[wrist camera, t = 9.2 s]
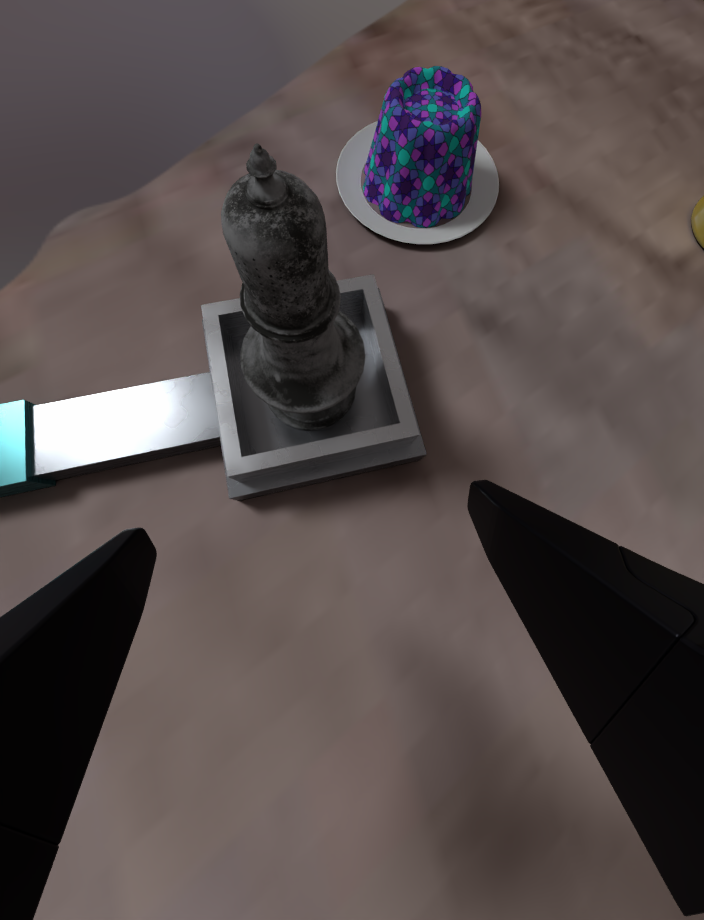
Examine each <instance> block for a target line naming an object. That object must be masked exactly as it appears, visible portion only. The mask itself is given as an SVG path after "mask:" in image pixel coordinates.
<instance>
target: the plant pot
mask: <svg viewBox="0 0 704 920" xmlns="http://www.w3.org/2000/svg"><path fill="white" fill-rule="evenodd" d="M691 226H692V230H693V233H694V235H695V237H696V239H697V241H698V242H699V244H700V245H701V246H702V247H703V248H704V196H703V197H702V198H701V199H700V200H699V202H698V203H697V204H696V206H695V208H694V210H693V213H692V217H691Z"/></svg>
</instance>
